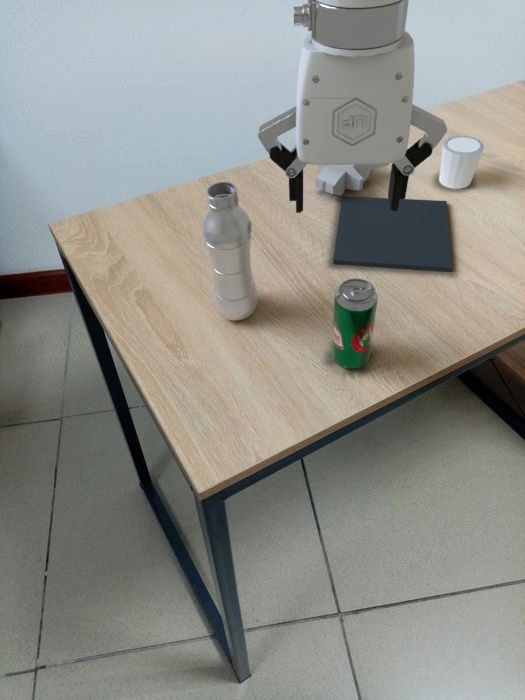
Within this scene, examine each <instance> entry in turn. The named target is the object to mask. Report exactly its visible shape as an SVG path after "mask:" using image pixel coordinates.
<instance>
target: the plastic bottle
mask: <svg viewBox="0 0 525 700" xmlns="http://www.w3.org/2000/svg"><path fill="white" fill-rule="evenodd" d="M206 196H207V197H206V198H207V206H208V208H209V209H208V210H207V212H206V214H205V216H204V218H203V220H202V225H201V232H202V237H203V239H204V243H205V245H206V249H207V252H208V255H209V258H210V264H211V267H212V275H213V291H212V297H213V304H214V306H215V309H216V311H217V314H219V315H220V316H221V317H223V318H224V319H226V320H229V321H242V320H245V319H247V318H249V317H250V316H251V315H252V314H253V313H254V312H255V310H256V308H257V306H258V301H259V293H258V289H257V286H256V283H255V281H254V275H253V270H252V264H251V263H252V262H251V240H252V222H251V219H250V217H249V215H248V213H247V212H246V211H245V210H244V208H242V207H241V206H240V205H239V204H240V203H239V202H240V200H239V196H238V190H237V187H236V185H235V184H234V183H232V182H229V181H219V182H215V183H213V184H211V185H209V187H207V190H206Z"/></svg>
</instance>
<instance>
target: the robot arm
mask: <svg viewBox="0 0 525 700" xmlns="http://www.w3.org/2000/svg"><path fill="white" fill-rule="evenodd" d="M409 1H410V0H307V3H303V4H302V5H299V6H293V26H294V27H299V26H302V28H307V32H311V33H308V34H307V36H305V37H304V39H303V42H302V46H301V50H300V51H301V52H300V55H299V56H300V57H299V63H298V73H297V84H296V105H295V106H293V107H292V108H290V109H288V110H286V111H284V112H283V113H281V114H280V115H277V116H275V117H274V118H272V119H270V120H268V121H267V122H264V123H263V124H261V125H260V126H259V127H258V132H257V138H258V139H259V141H260V143H261V144H262V146H263V149H265V151H266V152H267V153H268V155H269V158H270V160H271V161H272V162H273V163H274V164H276V165H277V167H279V168H280V169H281V170H283V172H285V176H286V177H287V178H288V199H289V201H288V202H295V213H296V214H301V213H302V212H304V168H305V167H307V165H310V166H319V165H360V164H385V163H390V164H391V168H390V174H389V175H390V177H389V182H388V190H387V198H388V199H389V205H390V210H392V211H398V207H399V200H400V199H406V197H407V196H406V195H407V190H408V183H409V177H410V176H411V175H413V173H414V172H415V169H416V168H417V167H419V165H421V163H423V162H424V161H425V160H427V159H428V158H429V157H431V156H432V154H433V150H434V149H435V148H436V147H437V146H438V145H439V143H440V142H441V140H443V138H444V137H445V136H446V134H447V132H448V128H447V124H446V122H445V120H444V119H442V118H440V117H438V116H436V115H434V114H432V113H431V112H428V111H427V110H425V109H423V108H421V107H419V106H417V105H415V104H413V102H414V101H413V100H414V87H415V44H414V39H413V38H412V36H411V34H410V33H409V32H408V31H406V26H407V17H408V9H409ZM411 126H413V127H415V128H417V129H419V130H421V131H423V132H424V133H423V135H422V137H421V138H419V139H418V140H417V141H416V142H414V143H413V144H412V145H411V146H410V147H409V148H408V146H409V141H410V132H411V131H410V130H411ZM294 128H295V145H294V146H293V148H292V149H291V150H289V149H288V148H287V147H286V146H284V145H283V144H282V143H281V142H280V141H279V138H278V137H279V136H281V135H283V134H285V133H287V132H289V131H291V130H293V129H294Z"/></svg>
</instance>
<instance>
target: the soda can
mask: <svg viewBox="0 0 525 700" xmlns="http://www.w3.org/2000/svg"><path fill="white" fill-rule="evenodd" d="M334 293H335V294H334V300H333V301H334V303H333V319H332V320H333V321H332V335H331V336H332V338H331V352H330V353H331V358H332V360H333V361H334V362H335V364H337V365H338V366H340V367H341V368H344V369H350V370H353V369H358V368H359V369H360V368H361V367H363V366H365V365H366V364H367V363H368V362H369V360H370V357H371V351H372V350H371V349H372V344H373V337H374V329H375V321H376V316H377V315H376V314H377V308H378V300H379V297H378V294H377V292H376V288H375V286H374V285H373V283H371V282H370V281H368V280H366V279H363V278H349V279H346V280H344V281H342V282H341V283H340V285H339V286H338V288H337V290H336V291H335V292H334ZM338 363H339V364H338ZM345 366H346V367H345ZM358 366H359V367H358Z"/></svg>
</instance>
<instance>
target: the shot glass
mask: <svg viewBox="0 0 525 700" xmlns="http://www.w3.org/2000/svg"><path fill="white" fill-rule="evenodd" d="M484 148H485V146H484V143H483V142H482V141H481V140H480V139H478V138H476V137H473V136H469V135H452V136H449V137H448V138H445V139H444V141H442V147H441V159H440V167H439V176H438V182H439V183H440V184H441V186H443V187H446V188H448V189H454V190H461V189H465V188H467V187H469V186H470V185H471V183H472V180H473V178H474V176H475V172H476V169H477V168H478V164H479V162H480V159H481V156H482V155H483V151H484Z"/></svg>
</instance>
